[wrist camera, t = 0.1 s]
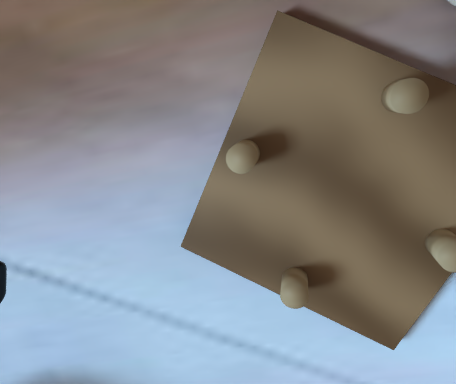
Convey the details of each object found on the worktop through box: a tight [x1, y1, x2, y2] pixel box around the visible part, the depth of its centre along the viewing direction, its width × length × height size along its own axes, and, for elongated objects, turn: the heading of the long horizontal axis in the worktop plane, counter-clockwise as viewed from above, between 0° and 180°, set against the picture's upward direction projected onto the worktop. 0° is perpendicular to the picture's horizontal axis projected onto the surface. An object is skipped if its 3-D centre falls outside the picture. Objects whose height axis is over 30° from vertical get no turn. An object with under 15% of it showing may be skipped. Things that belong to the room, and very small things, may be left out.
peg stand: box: [181, 11, 456, 350], centre depth 19 cm, size 15×15×3 cm
